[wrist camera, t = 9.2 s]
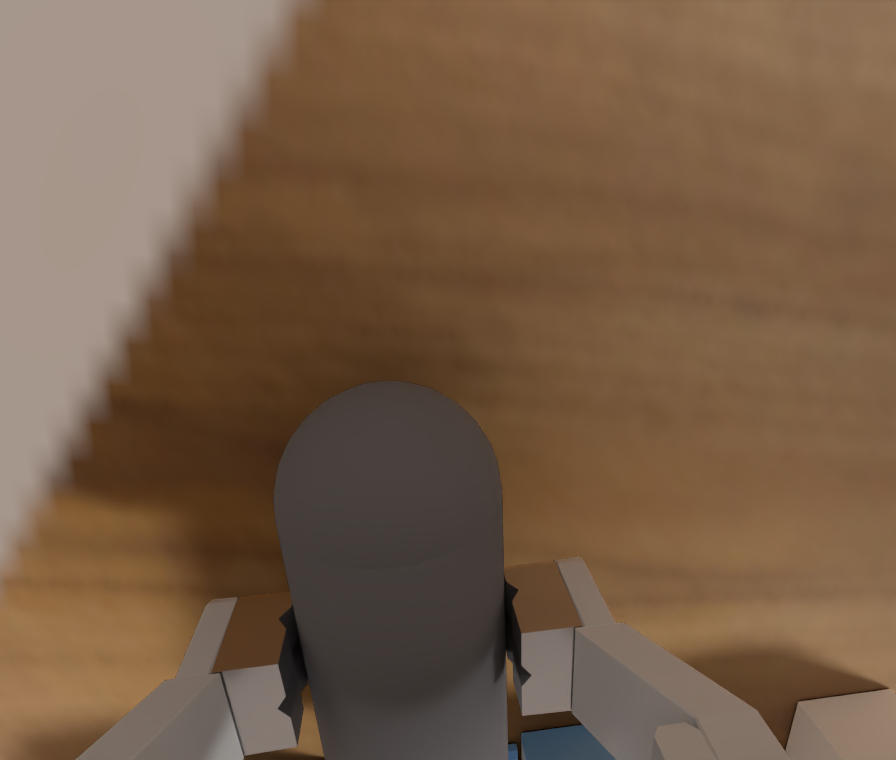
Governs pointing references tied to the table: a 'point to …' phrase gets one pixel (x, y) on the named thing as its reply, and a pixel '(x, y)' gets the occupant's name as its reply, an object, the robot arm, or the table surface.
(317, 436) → the gray pill-shaped peg
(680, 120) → the table surface
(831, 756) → the white slotted rack
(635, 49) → the table surface
